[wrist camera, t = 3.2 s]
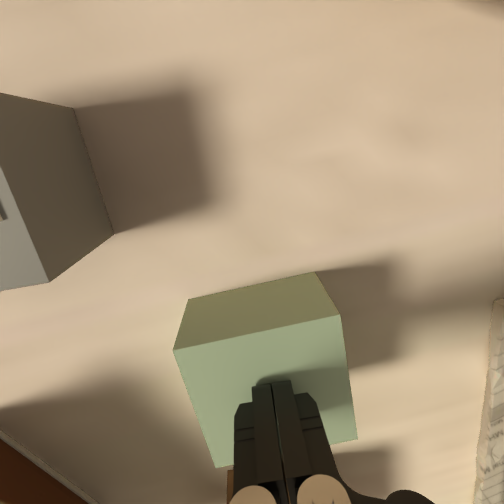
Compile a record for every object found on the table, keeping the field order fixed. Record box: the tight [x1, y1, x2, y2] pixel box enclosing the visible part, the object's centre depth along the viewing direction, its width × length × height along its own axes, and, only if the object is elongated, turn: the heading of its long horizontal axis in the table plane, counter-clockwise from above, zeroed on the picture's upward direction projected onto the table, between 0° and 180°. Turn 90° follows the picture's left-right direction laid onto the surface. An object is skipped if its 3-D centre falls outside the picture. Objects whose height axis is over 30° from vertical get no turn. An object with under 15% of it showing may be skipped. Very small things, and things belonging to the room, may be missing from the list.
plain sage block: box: [173, 272, 358, 468], centre depth 14 cm, size 6×6×4 cm
